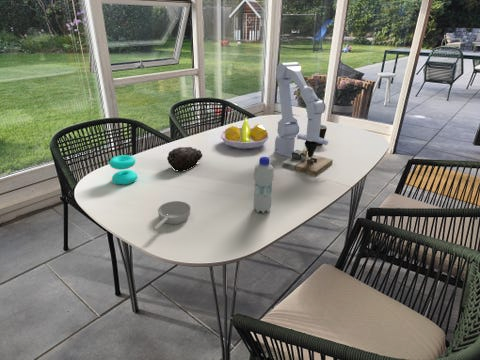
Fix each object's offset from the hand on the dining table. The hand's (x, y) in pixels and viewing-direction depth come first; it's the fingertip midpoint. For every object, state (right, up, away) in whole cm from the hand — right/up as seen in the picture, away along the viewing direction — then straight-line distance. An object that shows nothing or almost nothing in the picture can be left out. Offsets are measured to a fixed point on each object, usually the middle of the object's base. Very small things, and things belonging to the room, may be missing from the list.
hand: (310, 156), depth 150 cm
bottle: (-25, -22, -35) cm, 48 cm away
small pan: (-56, -25, -44) cm, 75 cm away
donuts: (-81, -11, -15) cm, 83 cm away
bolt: (-4, 0, +4) cm, 6 cm away
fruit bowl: (-30, +9, +28) cm, 42 cm away
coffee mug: (+10, +10, +31) cm, 34 cm away
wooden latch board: (0, -4, +2) cm, 5 cm away
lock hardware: (-2, -1, +3) cm, 4 cm away
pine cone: (-58, -5, 0) cm, 58 cm away
